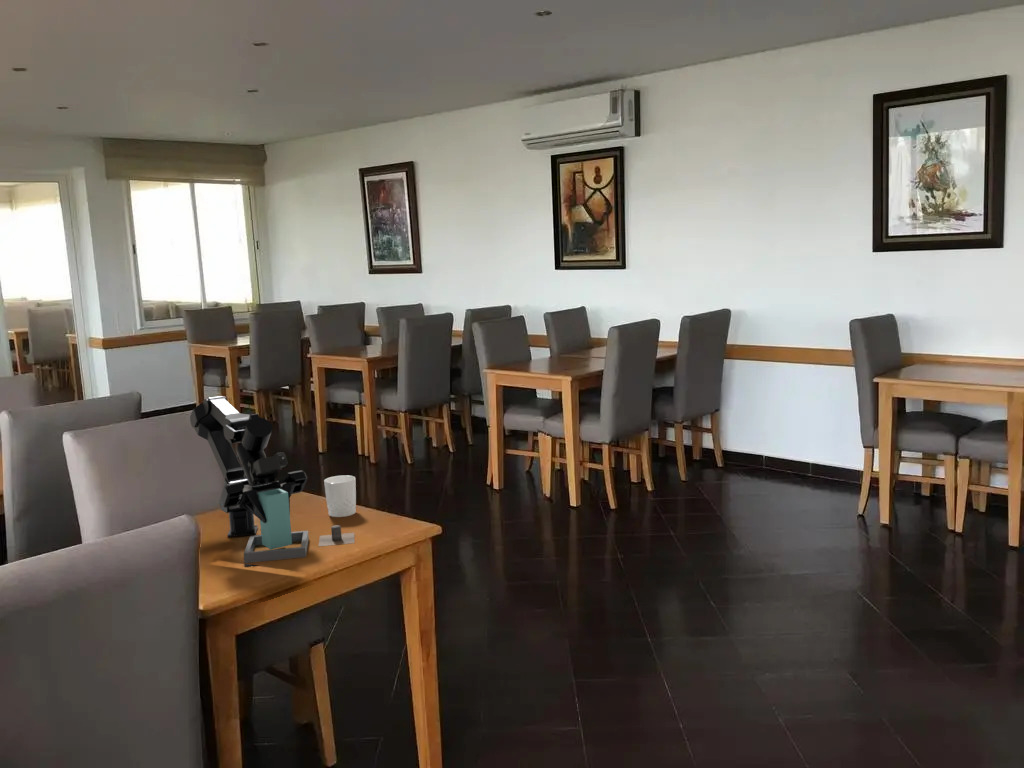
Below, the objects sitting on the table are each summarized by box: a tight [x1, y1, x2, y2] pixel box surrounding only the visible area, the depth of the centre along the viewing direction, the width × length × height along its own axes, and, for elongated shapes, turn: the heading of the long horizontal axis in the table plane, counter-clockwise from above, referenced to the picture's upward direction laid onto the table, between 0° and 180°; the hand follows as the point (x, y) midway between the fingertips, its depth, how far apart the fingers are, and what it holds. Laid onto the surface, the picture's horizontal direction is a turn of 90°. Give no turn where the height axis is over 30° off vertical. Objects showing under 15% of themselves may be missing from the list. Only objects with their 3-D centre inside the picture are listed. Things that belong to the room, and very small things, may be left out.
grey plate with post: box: [318, 524, 355, 547], centre depth 200 cm, size 8×8×4 cm
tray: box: [243, 530, 310, 568], centre depth 194 cm, size 13×13×3 cm
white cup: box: [323, 474, 357, 518], centre depth 221 cm, size 8×8×10 cm
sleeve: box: [258, 488, 293, 550], centre depth 193 cm, size 5×5×12 cm
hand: (277, 519), depth 192 cm, fingers closed on sleeve, 5 cm apart
